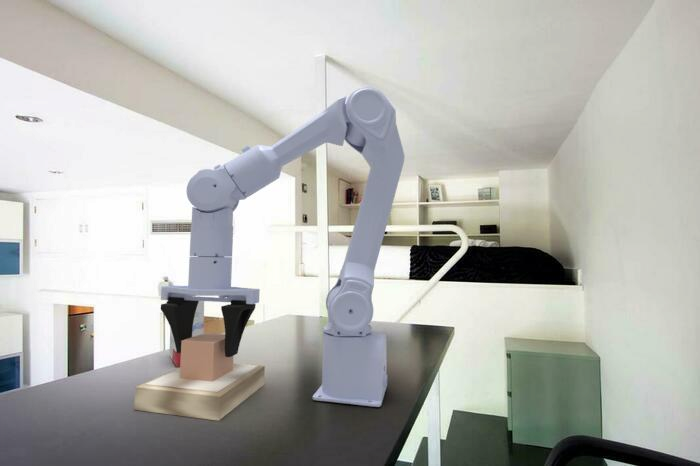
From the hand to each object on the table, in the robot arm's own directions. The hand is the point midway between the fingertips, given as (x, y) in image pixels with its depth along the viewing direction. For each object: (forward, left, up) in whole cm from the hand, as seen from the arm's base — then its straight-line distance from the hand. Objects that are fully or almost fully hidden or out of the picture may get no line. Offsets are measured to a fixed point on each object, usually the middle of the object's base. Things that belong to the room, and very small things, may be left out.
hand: (207, 353), depth 49 cm
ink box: (+14, -14, -6) cm, 21 cm away
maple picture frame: (0, 0, -6) cm, 6 cm away
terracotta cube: (0, 0, -3) cm, 3 cm away
